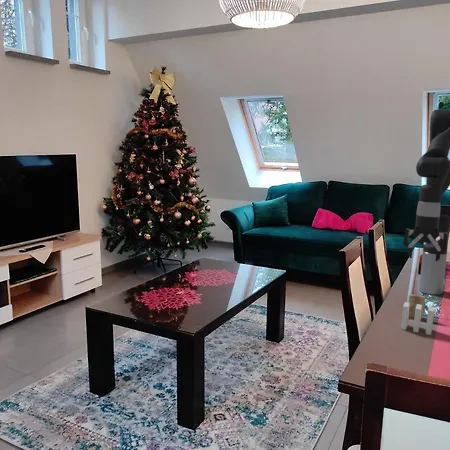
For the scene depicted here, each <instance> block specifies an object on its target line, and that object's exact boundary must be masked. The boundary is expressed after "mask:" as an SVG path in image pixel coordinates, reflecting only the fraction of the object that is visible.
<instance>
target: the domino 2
mask: <svg viewBox="0 0 450 450" xmlns="http://www.w3.org/2000/svg"><path fill="white" fill-rule="evenodd" d="M425 299H426V296H424V295H420V294H419V295H418V294H413V293H412V294H411V293H410V294H408V303H410V307H409V317H408V318H415V308H416V305H417V304H420V305H422V310H421V320H423V316H424V308H425Z"/></svg>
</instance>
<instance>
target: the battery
mask: <svg viewBox="0 0 450 450" xmlns="http://www.w3.org/2000/svg"><path fill="white" fill-rule="evenodd" d="M422 255H423V253H421V255H419V260H418V269H417V274H418V275H421V265H422Z"/></svg>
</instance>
